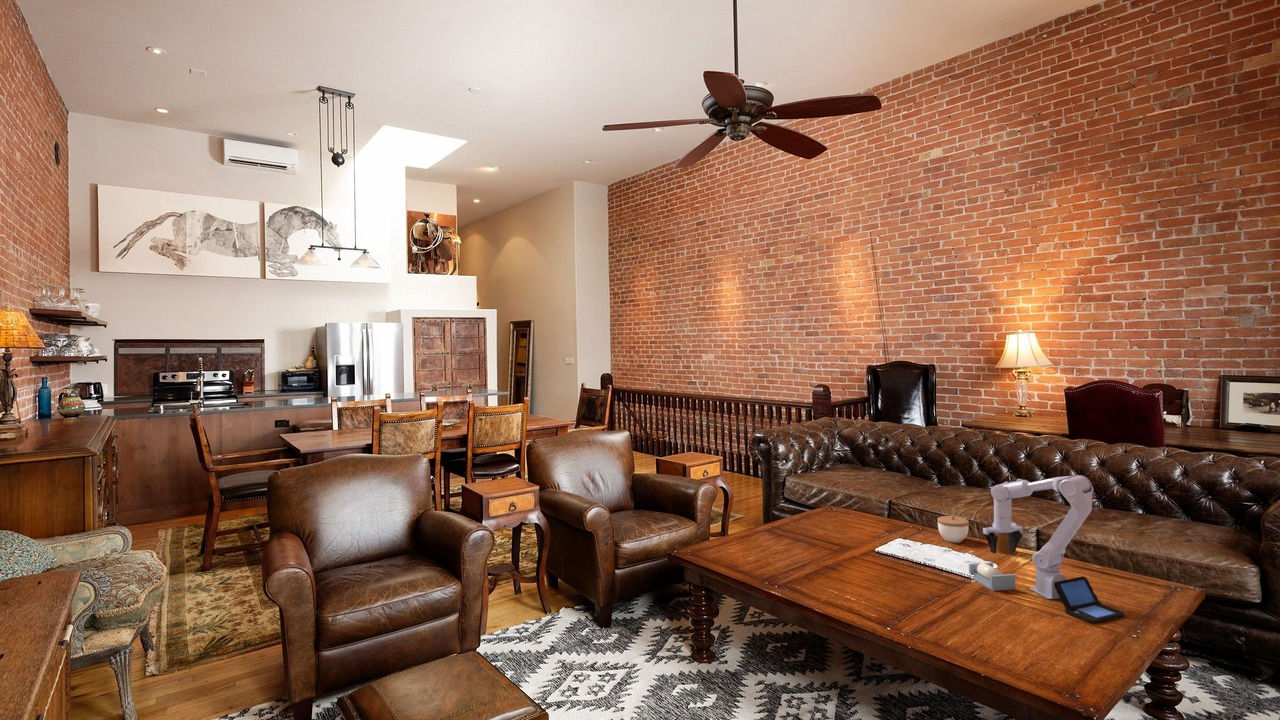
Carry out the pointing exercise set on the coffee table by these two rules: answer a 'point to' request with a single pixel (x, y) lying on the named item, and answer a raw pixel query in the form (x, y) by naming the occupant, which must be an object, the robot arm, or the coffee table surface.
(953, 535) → the lidded bowl
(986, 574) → the roll
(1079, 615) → the game console
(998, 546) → the disposable coffee cup
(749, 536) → the coffee table surface
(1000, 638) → the coffee table surface
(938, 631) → the coffee table surface
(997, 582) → the holder
